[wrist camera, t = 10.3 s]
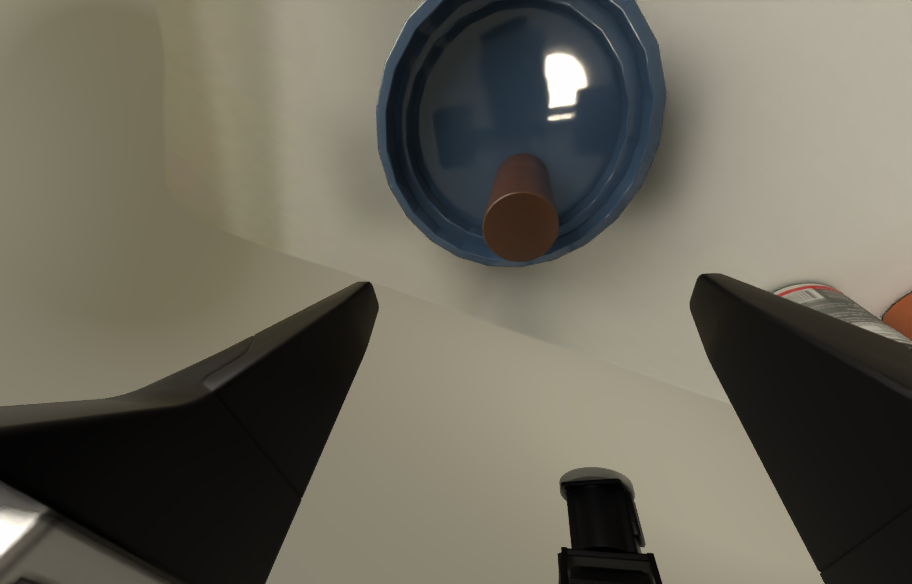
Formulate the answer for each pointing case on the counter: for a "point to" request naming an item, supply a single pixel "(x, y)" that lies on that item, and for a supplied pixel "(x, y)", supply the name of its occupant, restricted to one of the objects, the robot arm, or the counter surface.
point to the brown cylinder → (521, 210)
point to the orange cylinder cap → (901, 316)
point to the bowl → (519, 113)
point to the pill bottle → (839, 308)
